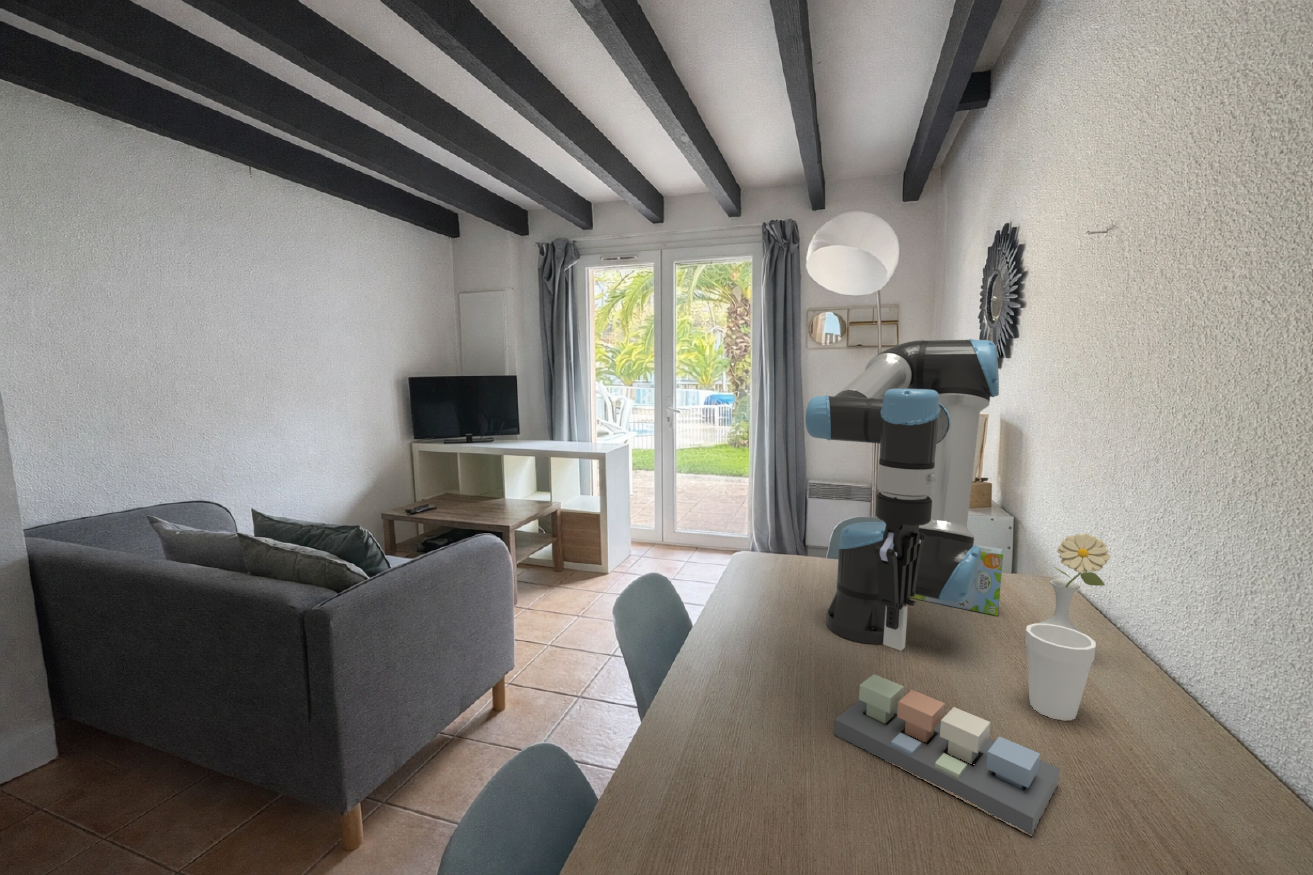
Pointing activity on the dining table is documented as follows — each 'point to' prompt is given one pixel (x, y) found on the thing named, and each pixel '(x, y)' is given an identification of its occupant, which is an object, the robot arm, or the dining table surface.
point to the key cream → (964, 734)
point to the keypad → (950, 767)
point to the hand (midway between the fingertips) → (894, 645)
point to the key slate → (1013, 763)
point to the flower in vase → (1082, 558)
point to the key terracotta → (920, 714)
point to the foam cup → (1057, 668)
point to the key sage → (880, 697)
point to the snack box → (981, 585)
